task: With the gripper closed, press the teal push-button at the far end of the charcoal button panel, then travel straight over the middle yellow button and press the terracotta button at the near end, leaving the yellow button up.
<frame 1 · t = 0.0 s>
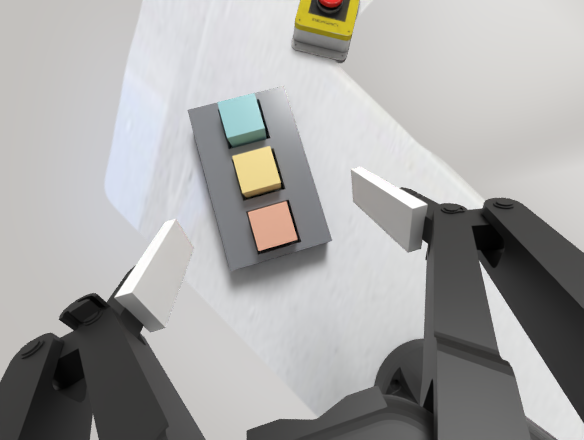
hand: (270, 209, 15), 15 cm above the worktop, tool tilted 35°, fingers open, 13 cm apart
teal button: (243, 121, 28), point 3 cm above the worktop, slide at 0.0 cm
button panel: (261, 180, 31), on the worktop
terracotta button: (273, 226, 27), point 3 cm above the worktop, slide at 0.0 cm
emergency button: (326, 19, 35), on the worktop
yellow button: (258, 173, 28), point 3 cm above the worktop, slide at 0.0 cm
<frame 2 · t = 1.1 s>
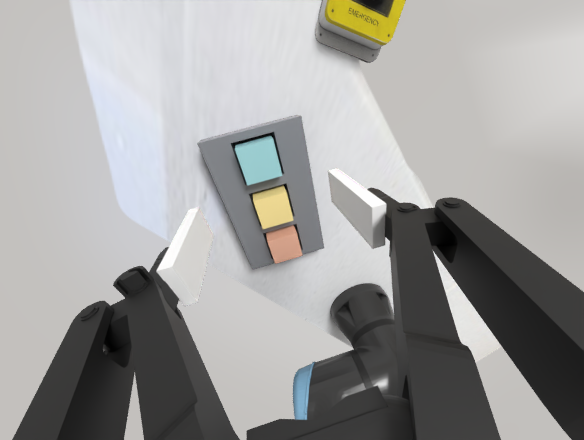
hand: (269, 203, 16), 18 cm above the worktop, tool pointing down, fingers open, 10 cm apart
teal button: (259, 160, 29), point 3 cm above the worktop, slide at 0.0 cm
button panel: (270, 198, 35), on the worktop
terracotta button: (284, 243, 36), point 3 cm above the worktop, slide at 0.0 cm
yellow button: (273, 207, 32), point 4 cm above the worktop, slide at 0.0 cm
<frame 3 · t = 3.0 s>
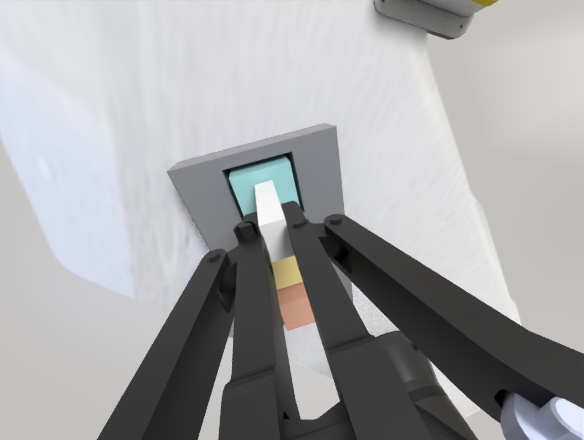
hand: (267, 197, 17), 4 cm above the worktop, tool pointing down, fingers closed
teal button: (266, 191, 19), point 3 cm above the worktop, slide at 1.0 cm, touching gripper
button panel: (282, 239, 25), on the worktop
terracotta button: (300, 302, 26), point 4 cm above the worktop, slide at 0.0 cm
yellow button: (286, 258, 22), point 4 cm above the worktop, slide at 0.0 cm
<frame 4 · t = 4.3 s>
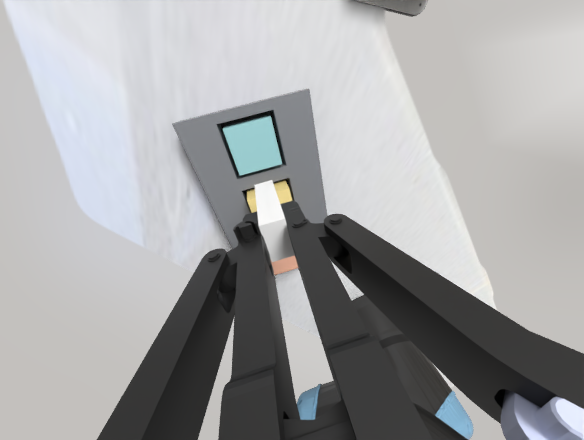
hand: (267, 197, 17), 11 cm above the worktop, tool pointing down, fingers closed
teal button: (253, 145, 23), point 2 cm above the worktop, slide at 1.5 cm
button panel: (269, 196, 29), on the worktop
terracotta button: (285, 251, 30), point 3 cm above the worktop, slide at 0.0 cm
yellow button: (272, 207, 26), point 3 cm above the worktop, slide at 0.0 cm
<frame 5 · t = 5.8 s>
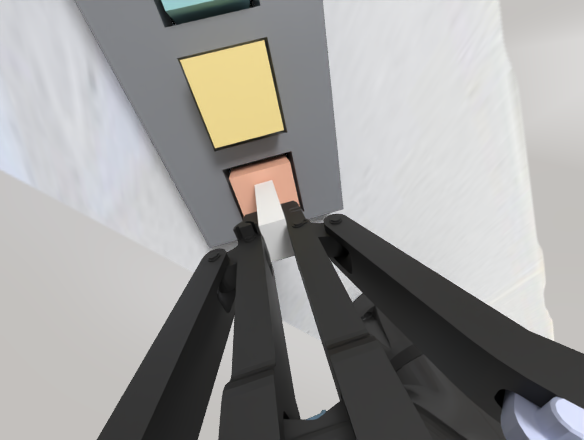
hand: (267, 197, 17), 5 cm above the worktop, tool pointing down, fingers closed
button panel: (239, 100, 18), on the worktop
terracotta button: (266, 191, 19), point 3 cm above the worktop, slide at 0.7 cm, touching gripper
yellow button: (238, 99, 15), point 3 cm above the worktop, slide at 0.0 cm
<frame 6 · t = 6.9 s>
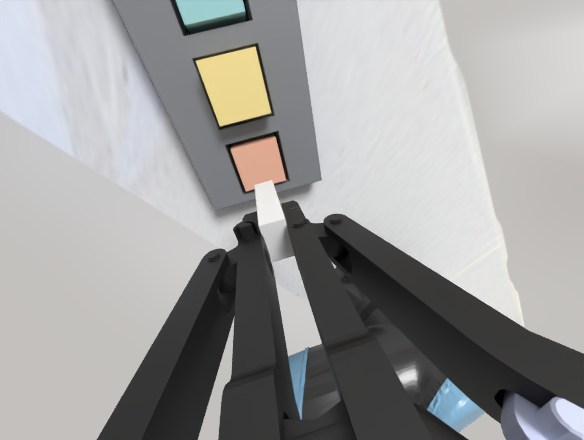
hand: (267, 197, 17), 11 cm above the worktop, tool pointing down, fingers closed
button panel: (237, 90, 22), on the worktop
terracotta button: (259, 162, 25), point 2 cm above the worktop, slide at 1.5 cm
yellow button: (236, 89, 19), point 3 cm above the worktop, slide at 0.0 cm
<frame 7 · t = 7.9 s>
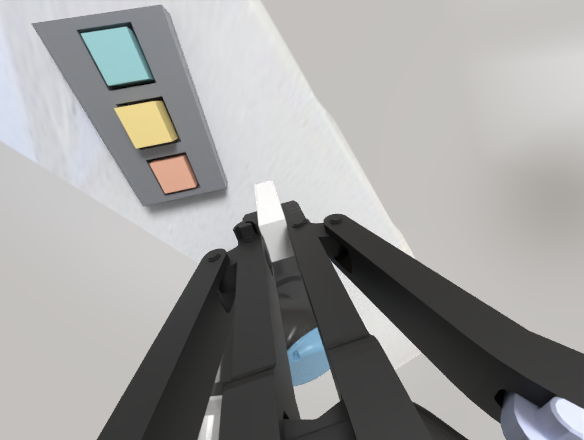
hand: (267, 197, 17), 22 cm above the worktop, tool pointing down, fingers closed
teal button: (123, 59, 26), point 2 cm above the worktop, slide at 1.5 cm
button panel: (158, 122, 32), on the worktop
terracotta button: (176, 173, 34), point 2 cm above the worktop, slide at 1.5 cm
yellow button: (149, 124, 29), point 3 cm above the worktop, slide at 0.0 cm
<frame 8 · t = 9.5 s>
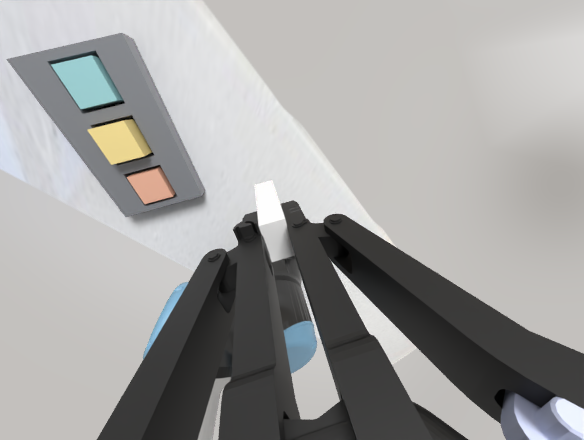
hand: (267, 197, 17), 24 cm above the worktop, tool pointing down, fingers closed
teal button: (93, 84, 28), point 2 cm above the worktop, slide at 1.5 cm
button panel: (133, 138, 34), on the worktop
terracotta button: (154, 184, 36), point 2 cm above the worktop, slide at 1.5 cm
yellow button: (122, 141, 31), point 3 cm above the worktop, slide at 0.0 cm
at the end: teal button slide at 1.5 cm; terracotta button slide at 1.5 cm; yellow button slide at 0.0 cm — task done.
